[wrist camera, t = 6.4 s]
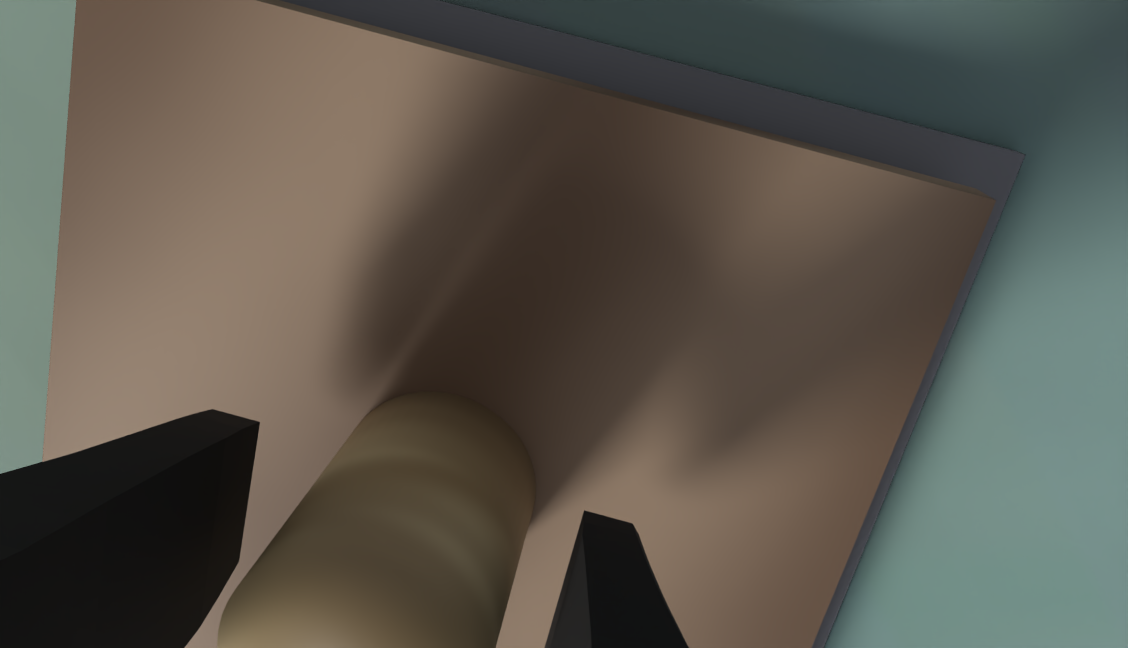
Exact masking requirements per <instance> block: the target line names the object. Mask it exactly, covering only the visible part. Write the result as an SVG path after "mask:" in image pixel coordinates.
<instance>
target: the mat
mask: <svg viewBox="0 0 1128 648" xmlns="http://www.w3.org/2000/svg"><path fill="white" fill-rule="evenodd" d="M280 1H284V2H288V3H291V4H295V5H299V6H303V7H306V8H310V9H314V10H317V11H321V12H325V13H328V14H332V15H336V16H340V17H343V18H347V19H351V20H354V21H358V22H362V23H365V24H369V25H373V26H377V27H380V28H384V29H388V30H391V31H395V32H399V33H402V34H406V35H410V36H414V37H417V38H421V39H425V40H428V41H432V42H436V43H439V44H443V45H447V46H451V47H454V48H458V49H462V50H465V51H469V52H473V53H476V54H480V55H484V56H488V57H491V58H495V59H499V60H502V61H506V62H510V63H513V64H517V65H521V66H524V67H528V68H532V69H536V70H539V71H543V72H547V73H550V74H554V75H558V76H561V77H565V78H569V79H573V80H576V81H580V82H584V83H587V84H591V85H595V86H598V87H602V88H606V89H610V90H613V91H617V92H621V93H624V94H628V95H632V96H635V97H639V98H643V99H647V100H650V101H654V102H658V103H661V104H665V105H669V106H672V107H676V108H680V109H684V110H687V111H691V112H695V113H698V114H702V115H706V116H709V117H713V118H717V119H721V120H724V121H728V122H732V123H735V124H739V125H743V126H746V127H750V128H754V129H758V130H761V131H765V132H769V133H772V134H776V135H780V136H783V137H787V138H791V139H795V140H798V141H802V142H806V143H809V144H813V145H817V146H820V147H824V148H828V149H832V150H835V151H839V152H843V153H846V154H850V155H854V156H857V157H861V158H865V159H868V160H872V161H876V162H880V163H883V164H887V165H891V166H894V167H898V168H902V169H905V170H909V171H913V172H917V173H920V174H924V175H928V176H931V177H935V178H939V179H942V180H946V181H950V182H954V183H957V184H961V185H965V186H968V187H972V188H976V189H978V190H979V191H981V192H983V193H984V194H986V195H988V196H989V197H991V198H993V199H994V200H996V202H995V205H994V207H993V210H992V212H991V214H990V217H989V219H988V222H987V224H986V227H985V229H984V231H983V234H982V236H981V239H980V241H979V244H978V246H977V248H976V251H975V253H974V256H973V258H972V260H971V263H970V265H969V268H968V270H967V273H966V275H965V277H964V280H963V282H962V285H961V287H960V289H959V292H958V294H957V297H956V299H955V302H954V304H953V306H952V309H951V311H950V314H949V316H948V319H947V321H946V323H945V326H944V328H943V331H942V333H941V335H940V338H939V340H938V343H937V345H936V348H935V350H934V352H933V355H932V357H931V360H930V362H929V364H928V367H927V369H926V372H925V374H924V377H923V379H922V381H921V384H920V386H919V389H918V391H917V394H916V396H915V398H914V401H913V403H912V406H911V408H910V410H909V413H908V415H907V418H906V420H905V423H904V425H903V427H902V430H901V432H900V435H899V437H898V439H897V442H896V444H895V447H894V449H893V452H892V454H891V456H890V459H889V461H888V464H887V466H886V469H885V471H884V473H883V476H882V478H881V481H880V483H879V485H878V488H877V490H876V493H875V495H874V498H873V500H872V502H871V505H870V507H869V510H868V512H867V514H866V517H865V519H864V522H863V524H862V527H861V529H860V531H859V534H858V536H857V539H856V541H855V543H854V546H853V548H852V551H851V553H850V556H849V558H848V560H847V563H846V565H845V568H844V570H843V573H842V575H841V577H840V580H839V582H838V585H837V587H836V589H835V592H834V594H833V597H832V599H831V602H830V604H829V606H828V609H827V611H826V614H825V616H824V618H823V621H822V623H821V626H820V628H819V631H818V633H817V635H816V638H815V640H814V643H813V645H812V648H824V646H825V644H826V641H827V639H828V636H829V634H830V631H831V629H832V626H833V624H834V622H835V619H836V617H837V614H838V612H839V609H840V607H841V604H842V602H843V600H844V597H845V595H846V592H847V590H848V587H849V585H850V582H851V580H852V578H853V575H854V573H855V570H856V568H857V565H858V563H859V560H860V558H861V556H862V553H863V551H864V548H865V546H866V543H867V541H868V538H869V536H870V534H871V531H872V529H873V526H874V524H875V521H876V519H877V516H878V514H879V512H880V509H881V507H882V504H883V502H884V499H885V497H886V494H887V492H888V490H889V487H890V485H891V482H892V480H893V477H894V475H895V473H896V470H897V468H898V465H899V463H900V460H901V458H902V455H903V453H904V451H905V448H906V446H907V443H908V441H909V438H910V436H911V433H912V431H913V429H914V426H915V424H916V421H917V419H918V416H919V414H920V411H921V409H922V407H923V404H924V402H925V399H926V397H927V394H928V392H929V389H930V387H931V385H932V382H933V380H934V377H935V375H936V372H937V370H938V367H939V365H940V363H941V360H942V358H943V355H944V353H945V350H946V348H947V345H948V343H949V341H950V338H951V336H952V333H953V331H954V328H955V326H956V323H957V321H958V319H959V316H960V314H961V311H962V309H963V306H964V304H965V301H966V299H967V297H968V294H969V292H970V289H971V287H972V284H973V282H974V280H975V277H976V275H977V272H978V270H979V267H980V265H981V262H982V260H983V258H984V255H985V253H986V250H987V248H988V245H989V243H990V240H991V238H992V236H993V233H994V231H995V228H996V226H997V223H998V221H999V218H1000V216H1001V214H1002V211H1003V209H1004V206H1005V204H1006V201H1007V199H1008V196H1009V194H1010V192H1011V189H1012V187H1013V184H1014V182H1015V179H1016V177H1017V174H1018V172H1019V170H1020V167H1021V165H1022V162H1023V160H1024V157H1025V154H1022V153H1020V152H1018V151H1014V150H1010V149H1006V148H1002V147H998V146H995V145H991V144H987V143H983V142H979V141H976V140H972V139H968V138H964V137H960V136H956V135H953V134H949V133H945V132H941V131H937V130H933V129H930V128H926V127H922V126H918V125H914V124H911V123H907V122H903V121H899V120H895V119H891V118H888V117H884V116H880V115H876V114H872V113H869V112H865V111H861V110H857V109H853V108H849V107H846V106H842V105H838V104H834V103H830V102H826V101H823V100H819V99H815V98H811V97H807V96H804V95H800V94H796V93H792V92H788V91H784V90H781V89H777V88H773V87H769V86H765V85H762V84H758V83H754V82H750V81H746V80H742V79H739V78H735V77H731V76H727V75H723V74H719V73H716V72H712V71H708V70H704V69H700V68H697V67H693V66H689V65H685V64H681V63H677V62H674V61H670V60H666V59H662V58H658V57H655V56H651V55H647V54H643V53H639V52H635V51H632V50H628V49H624V48H620V47H616V46H612V45H609V44H605V43H601V42H597V41H593V40H590V39H586V38H582V37H578V36H574V35H570V34H567V33H563V32H559V31H555V30H551V29H548V28H544V27H540V26H536V25H532V24H528V23H525V22H521V21H517V20H513V19H509V18H506V17H502V16H498V15H494V14H490V13H486V12H483V11H479V10H475V9H471V8H467V7H463V6H460V5H456V4H452V3H448V2H444V1H441V0H280Z"/></svg>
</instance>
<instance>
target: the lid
mask: <svg viewBox="0 0 1128 648" xmlns="http://www.w3.org/2000/svg"><path fill="white" fill-rule="evenodd" d="M995 202H996V200H994V199H993V198H991V197H989V196H988V195H986V194H984V193H983V192H981V191H979V190H978V189H976V188H972V187H968V186H965V185H961V184H957V183H954V182H950V181H946V180H942V179H939V178H935V177H931V176H928V175H924V174H920V173H917V172H913V171H909V170H905V169H902V168H898V167H894V166H891V165H887V164H883V163H880V162H876V161H872V160H868V159H865V158H861V157H857V156H854V155H850V154H846V153H843V152H839V151H835V150H832V149H828V148H824V147H820V146H817V145H813V144H809V143H806V142H802V141H798V140H795V139H791V138H787V137H783V136H780V135H776V134H772V133H769V132H765V131H761V130H758V129H754V128H750V127H746V126H743V125H739V124H735V123H732V122H728V121H724V120H721V119H717V118H713V117H709V116H706V115H702V114H698V113H695V112H691V111H687V110H684V109H680V108H676V107H672V106H669V105H665V104H661V103H658V102H654V101H650V100H647V99H643V98H639V97H635V96H632V95H628V94H624V93H621V92H617V91H613V90H610V89H606V88H602V87H598V86H595V85H591V84H587V83H584V82H580V81H576V80H573V79H569V78H565V77H561V76H558V75H554V74H550V73H547V72H543V71H539V70H536V69H532V68H528V67H524V66H521V65H517V64H513V63H510V62H506V61H502V60H499V59H495V58H491V57H488V56H484V55H480V54H476V53H473V52H469V51H465V50H462V49H458V48H454V47H451V46H447V45H443V44H439V43H436V42H432V41H428V40H425V39H421V38H417V37H414V36H410V35H406V34H402V33H399V32H395V31H391V30H388V29H384V28H380V27H377V26H373V25H369V24H365V23H362V22H358V21H354V20H351V19H347V18H343V17H340V16H336V15H332V14H328V13H325V12H321V11H317V10H314V9H310V8H306V7H303V6H299V5H295V4H291V3H288V2H284V1H280V0H76V13H75V27H74V40H73V54H72V67H71V81H70V94H69V108H68V121H67V135H66V149H65V162H64V176H63V189H62V203H61V216H60V230H59V243H58V257H57V270H56V284H55V298H54V311H53V325H52V338H51V352H50V365H49V379H48V392H47V406H46V419H45V433H44V447H43V460H42V462H44V461H47V460H51V459H54V458H58V457H61V456H65V455H68V454H72V453H75V452H78V451H81V450H84V449H87V448H90V447H93V446H96V445H99V444H102V443H105V442H108V441H111V440H114V439H118V438H121V437H124V436H127V435H130V434H133V433H136V432H139V431H142V430H145V429H148V428H151V427H154V426H157V425H160V424H163V423H166V422H169V421H172V420H175V419H178V418H181V417H184V416H188V415H191V414H194V413H198V412H202V411H206V410H211V409H214V410H218V411H222V412H225V413H229V414H233V415H236V416H240V417H244V418H248V419H251V420H255V421H259V422H260V426H259V433H258V440H257V446H256V453H255V459H254V466H253V473H252V479H251V486H250V493H249V499H248V506H247V512H246V519H245V526H244V532H243V539H242V546H241V552H240V559H239V563H238V564H237V566H236V568H235V570H234V571H233V573H232V575H231V576H230V578H229V580H228V582H227V583H226V585H225V587H224V589H223V590H222V592H221V594H220V596H219V597H218V599H217V601H216V602H215V604H214V605H213V607H212V609H211V610H210V612H209V614H208V615H207V617H206V618H205V620H204V622H203V623H202V625H201V627H200V628H199V629H198V631H197V632H196V633H195V635H194V636H193V637H192V639H191V640H190V641H189V643H188V644H187V645H186V646H185V648H545V644H546V641H547V637H548V634H549V630H550V627H551V623H552V620H553V616H554V613H555V609H556V606H557V602H558V599H559V596H560V592H561V589H562V585H563V582H564V578H565V575H566V571H567V568H568V564H569V561H570V557H571V554H572V550H573V547H574V544H575V540H576V537H577V533H578V530H579V526H580V523H581V519H582V516H583V512H584V510H585V511H589V512H593V513H596V514H600V515H604V516H607V517H611V518H615V519H618V520H622V521H626V522H629V523H633V525H634V527H635V528H636V530H637V532H638V534H639V536H640V539H641V542H642V545H643V547H644V550H645V553H646V555H647V558H648V561H649V563H650V566H651V568H652V571H653V573H654V575H655V578H656V580H657V582H658V585H659V587H660V589H661V592H662V594H663V596H664V598H665V600H666V603H667V605H668V607H669V609H670V611H671V613H672V615H673V617H674V619H675V621H676V623H677V625H678V627H679V629H680V631H681V633H682V635H683V637H684V639H685V641H686V643H687V645H688V647H689V648H812V645H813V643H814V640H815V638H816V635H817V633H818V631H819V628H820V626H821V623H822V621H823V618H824V616H825V614H826V611H827V609H828V606H829V604H830V602H831V599H832V597H833V594H834V592H835V589H836V587H837V585H838V582H839V580H840V577H841V575H842V573H843V570H844V568H845V565H846V563H847V560H848V558H849V556H850V553H851V551H852V548H853V546H854V543H855V541H856V539H857V536H858V534H859V531H860V529H861V527H862V524H863V522H864V519H865V517H866V514H867V512H868V510H869V507H870V505H871V502H872V500H873V498H874V495H875V493H876V490H877V488H878V485H879V483H880V481H881V478H882V476H883V473H884V471H885V469H886V466H887V464H888V461H889V459H890V456H891V454H892V452H893V449H894V447H895V444H896V442H897V439H898V437H899V435H900V432H901V430H902V427H903V425H904V423H905V420H906V418H907V415H908V413H909V410H910V408H911V406H912V403H913V401H914V398H915V396H916V394H917V391H918V389H919V386H920V384H921V381H922V379H923V377H924V374H925V372H926V369H927V367H928V364H929V362H930V360H931V357H932V355H933V352H934V350H935V348H936V345H937V343H938V340H939V338H940V335H941V333H942V331H943V328H944V326H945V323H946V321H947V319H948V316H949V314H950V311H951V309H952V306H953V304H954V302H955V299H956V297H957V294H958V292H959V289H960V287H961V285H962V282H963V280H964V277H965V275H966V273H967V270H968V268H969V265H970V263H971V260H972V258H973V256H974V253H975V251H976V248H977V246H978V244H979V241H980V239H981V236H982V234H983V231H984V229H985V227H986V224H987V222H988V219H989V217H990V214H991V212H992V210H993V207H994V205H995Z"/></svg>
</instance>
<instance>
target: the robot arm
mask: <svg viewBox="0 0 1128 648" xmlns="http://www.w3.org/2000/svg"><path fill="white" fill-rule="evenodd" d="M259 426H260V422H259V421H255V420H251V419H248V418H244V417H240V416H236V415H233V414H229V413H225V412H222V411H218V410H214V409H211V410H206V411H202V412H198V413H194V414H191V415H188V416H184V417H181V418H178V419H175V420H172V421H169V422H166V423H163V424H160V425H157V426H154V427H151V428H148V429H145V430H142V431H139V432H136V433H133V434H130V435H127V436H124V437H121V438H118V439H114V440H111V441H108V442H105V443H102V444H99V445H96V446H93V447H90V448H87V449H84V450H81V451H78V452H75V453H72V454H68V455H65V456H61V457H58V458H54V459H51V460H47V461H44V462H40V463H37V464H33V465H30V466H26V467H23V468H19V469H16V470H13V471H9V472H6V473H2V474H0V648H185V646H186V645H187V644H188V643H189V641H190V640H191V639H192V637H193V636H194V635H195V633H196V632H197V631H198V629H199V628H200V627H201V625H202V623H203V622H204V620H205V618H206V617H207V615H208V614H209V612H210V610H211V609H212V607H213V605H214V604H215V602H216V601H217V599H218V597H219V596H220V594H221V592H222V590H223V589H224V587H225V585H226V583H227V582H228V580H229V578H230V576H231V575H232V573H233V571H234V570H235V568H236V566H237V564H238V563H239V559H240V552H241V546H242V539H243V532H244V526H245V519H246V512H247V506H248V499H249V493H250V486H251V479H252V473H253V466H254V459H255V453H256V446H257V440H258V433H259ZM545 648H689V647H688V645H687V643H686V641H685V639H684V637H683V635H682V633H681V631H680V629H679V627H678V625H677V623H676V621H675V619H674V617H673V615H672V613H671V611H670V609H669V607H668V605H667V603H666V600H665V598H664V596H663V594H662V592H661V589H660V587H659V585H658V582H657V580H656V578H655V575H654V573H653V571H652V568H651V566H650V563H649V561H648V558H647V555H646V553H645V550H644V547H643V545H642V542H641V539H640V536H639V534H638V532H637V530H636V528H635V527H634V525H633V523H629V522H626V521H622V520H618V519H615V518H611V517H607V516H604V515H600V514H596V513H593V512H589V511H585V510H584V512H583V516H582V519H581V523H580V526H579V530H578V533H577V537H576V540H575V544H574V547H573V550H572V554H571V557H570V561H569V564H568V568H567V571H566V575H565V578H564V582H563V585H562V589H561V592H560V596H559V599H558V602H557V606H556V609H555V613H554V616H553V620H552V623H551V627H550V630H549V634H548V637H547V641H546V644H545Z"/></svg>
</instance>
